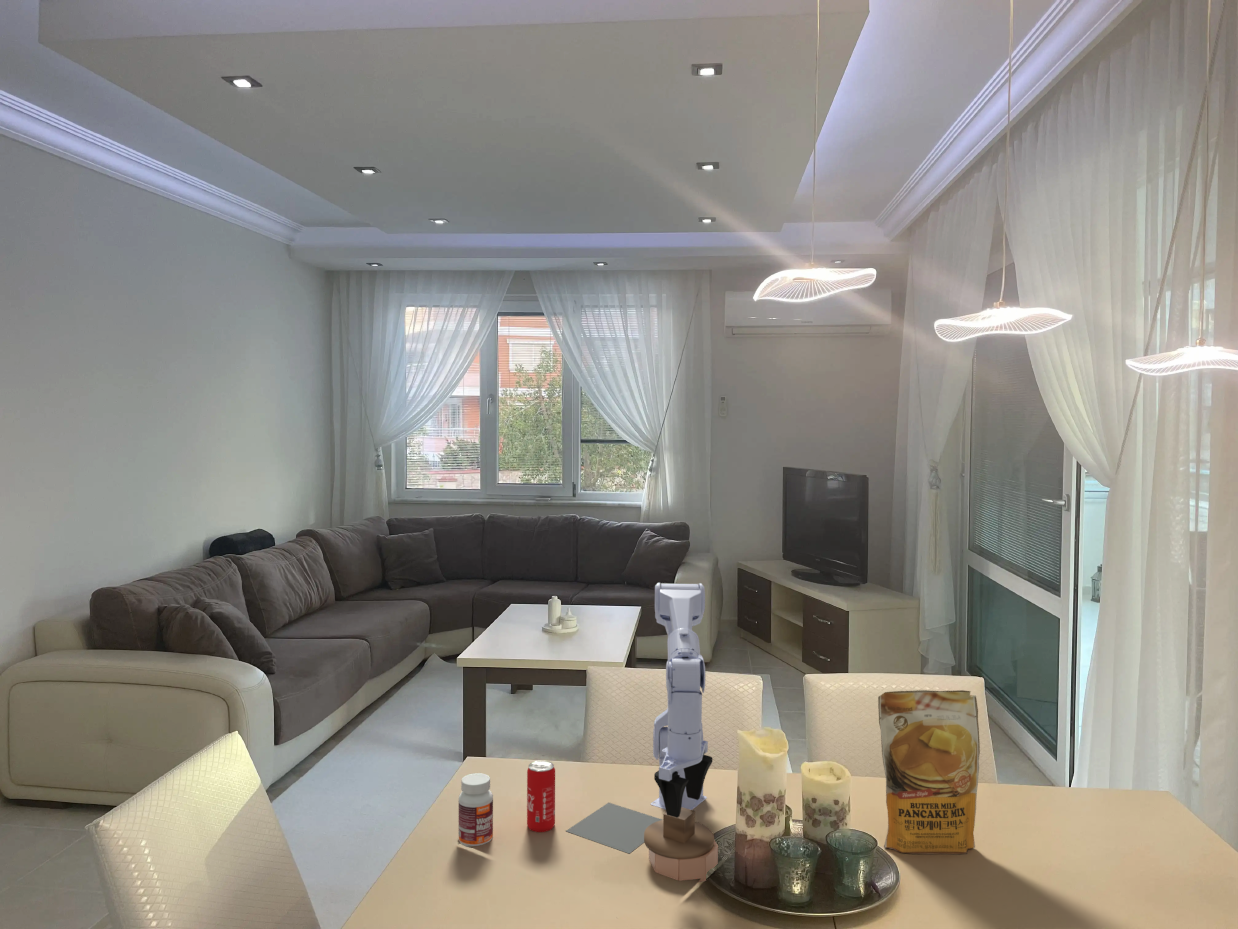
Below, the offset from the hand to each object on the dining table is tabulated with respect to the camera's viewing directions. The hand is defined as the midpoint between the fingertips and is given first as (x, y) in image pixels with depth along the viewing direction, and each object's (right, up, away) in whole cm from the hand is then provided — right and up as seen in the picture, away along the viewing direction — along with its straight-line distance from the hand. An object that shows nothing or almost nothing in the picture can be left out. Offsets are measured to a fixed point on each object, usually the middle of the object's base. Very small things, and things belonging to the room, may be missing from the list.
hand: (683, 806), depth 141 cm
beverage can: (-26, -10, +13) cm, 30 cm away
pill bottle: (-37, -10, +8) cm, 39 cm away
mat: (-11, -10, +13) cm, 19 cm away
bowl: (0, -10, 0) cm, 10 cm away
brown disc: (-1, -6, +1) cm, 6 cm away
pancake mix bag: (+45, -11, +8) cm, 46 cm away
